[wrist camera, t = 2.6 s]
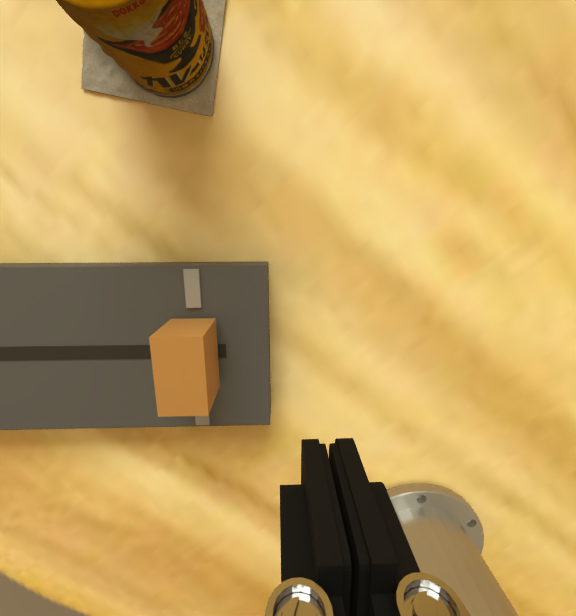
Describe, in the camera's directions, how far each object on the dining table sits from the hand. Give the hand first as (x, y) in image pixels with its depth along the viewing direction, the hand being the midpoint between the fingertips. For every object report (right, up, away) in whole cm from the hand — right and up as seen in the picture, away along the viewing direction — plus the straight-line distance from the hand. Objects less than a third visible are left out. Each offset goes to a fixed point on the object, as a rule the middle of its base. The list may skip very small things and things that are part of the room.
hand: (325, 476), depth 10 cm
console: (-16, +3, +14) cm, 21 cm away
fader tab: (-8, +2, +12) cm, 14 cm away
